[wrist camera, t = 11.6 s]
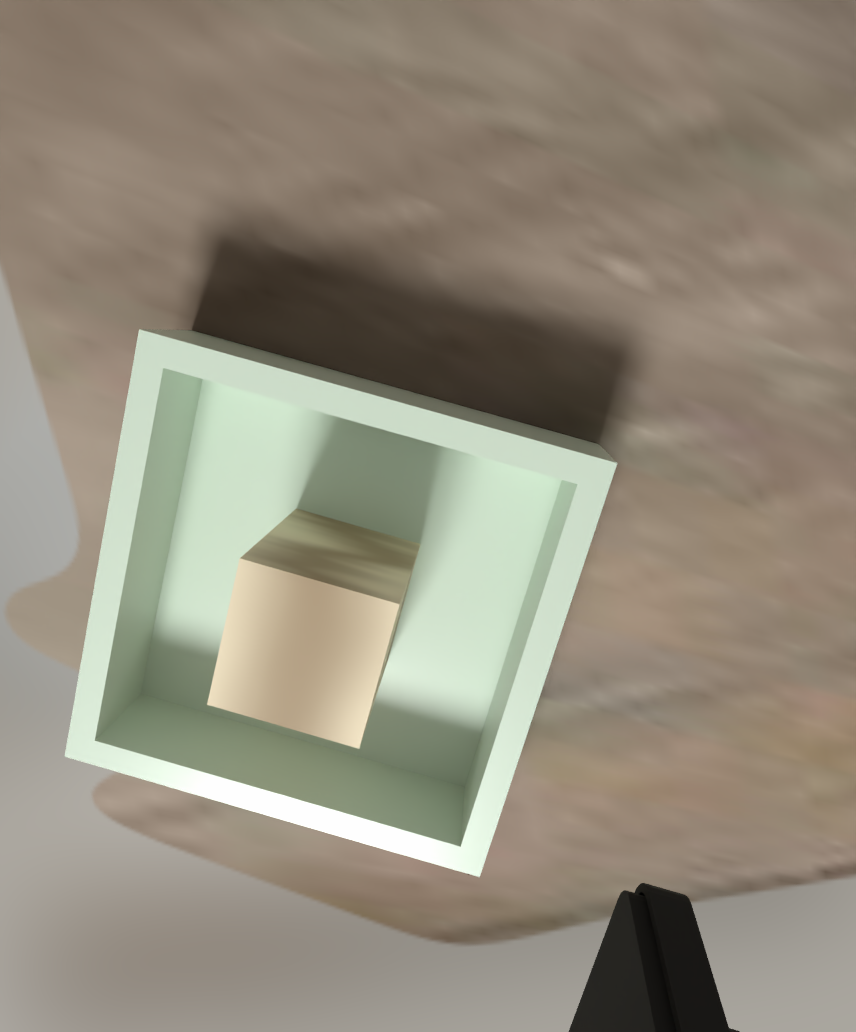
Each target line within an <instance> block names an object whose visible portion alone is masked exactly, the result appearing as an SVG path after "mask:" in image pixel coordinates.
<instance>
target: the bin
mask: <svg viewBox="0 0 856 1032" xmlns="http://www.w3.org/2000/svg"><path fill="white" fill-rule="evenodd" d="M616 466H617V462H616V461H615V460H614V459H613V458H612V457H611V456H610V455H609V454H608V453H607V452H606V451H605V450H604V449H603V448H602V447H601V446H600V445H599V444H596V443H593V442H589V441H586V440H582V439H579V438H575V437H571V436H568V435H564V434H561V433H557V432H553V431H550V430H546V429H543V428H539V427H536V426H532V425H528V424H525V423H521V422H518V421H514V420H511V419H507V418H503V417H500V416H496V415H493V414H489V413H486V412H482V411H478V410H475V409H471V408H468V407H464V406H461V405H457V404H453V403H450V402H446V401H443V400H439V399H435V398H432V397H428V396H425V395H421V394H418V393H414V392H410V391H407V390H403V389H400V388H396V387H393V386H389V385H385V384H382V383H378V382H375V381H371V380H368V379H364V378H360V377H357V376H353V375H350V374H346V373H343V372H339V371H335V370H332V369H328V368H325V367H321V366H317V365H314V364H310V363H307V362H303V361H300V360H296V359H292V358H289V357H285V356H282V355H278V354H275V353H271V352H267V351H264V350H260V349H257V348H253V347H250V346H246V345H242V344H239V343H235V342H232V341H228V340H225V339H221V338H217V337H214V336H210V335H207V334H203V333H199V332H196V331H192V330H150V329H139V334H138V339H137V345H136V351H135V357H134V362H133V368H132V374H131V380H130V385H129V391H128V397H127V402H126V408H125V414H124V420H123V425H122V431H121V437H120V443H119V448H118V454H117V460H116V465H115V471H114V477H113V483H112V488H111V494H110V500H109V506H108V511H107V517H106V523H105V529H104V534H103V540H102V546H101V551H100V557H99V563H98V569H97V574H96V580H95V586H94V592H93V597H92V603H91V609H90V614H89V620H88V626H87V632H86V637H85V643H84V649H83V655H82V660H81V666H80V672H79V677H78V683H77V689H76V695H75V701H74V706H73V712H72V718H71V723H70V729H69V735H68V741H67V747H66V752H65V757H68V758H71V759H75V760H79V761H82V762H86V763H89V764H92V765H95V766H99V767H103V768H106V769H109V770H113V771H116V772H120V773H123V774H126V775H130V776H133V777H137V778H140V779H144V780H147V781H151V782H154V783H157V784H161V785H164V786H168V787H171V788H175V789H178V790H182V791H185V792H188V793H192V794H195V795H199V796H202V797H206V798H209V799H213V800H216V801H219V802H223V803H226V804H230V805H233V806H237V807H240V808H244V809H247V810H250V811H254V812H257V813H261V814H264V815H268V816H271V817H274V818H278V819H281V820H285V821H288V822H292V823H295V824H299V825H302V826H305V827H309V828H312V829H316V830H319V831H323V832H326V833H330V834H333V835H336V836H340V837H343V838H347V839H350V840H354V841H357V842H361V843H364V844H367V845H371V846H374V847H378V848H381V849H385V850H388V851H392V852H395V853H398V854H402V855H405V856H409V857H412V858H416V859H419V860H423V861H426V862H429V863H433V864H436V865H440V866H443V867H447V868H450V869H454V870H457V871H460V872H464V873H467V874H471V875H474V876H478V877H480V874H481V871H482V868H483V865H484V862H485V859H486V856H487V853H488V850H489V847H490V844H491V841H492V838H493V835H494V832H495V829H496V826H497V823H498V820H499V817H500V814H501V811H502V808H503V805H504V802H505V799H506V796H507V793H508V790H509V787H510V784H511V781H512V778H513V775H514V772H515V769H516V766H517V763H518V760H519V757H520V754H521V751H522V748H523V745H524V742H525V739H526V736H527V733H528V730H529V727H530V724H531V721H532V718H533V715H534V712H535V709H536V706H537V703H538V700H539V697H540V694H541V691H542V688H543V685H544V682H545V679H546V676H547V673H548V670H549V667H550V664H551V661H552V658H553V655H554V652H555V649H556V646H557V643H558V640H559V637H560V634H561V631H562V628H563V625H564V622H565V619H566V616H567V613H568V610H569V607H570V604H571V601H572V598H573V595H574V592H575V589H576V586H577V583H578V580H579V577H580V574H581V571H582V568H583V565H584V562H585V559H586V556H587V553H588V550H589V547H590V544H591V541H592V538H593V535H594V532H595V529H596V526H597V523H598V520H599V517H600V514H601V511H602V508H603V505H604V502H605V499H606V496H607V493H608V490H609V487H610V484H611V481H612V478H613V475H614V472H615V469H616ZM296 508H297V509H300V510H304V511H307V512H311V513H314V514H318V515H321V516H325V517H328V518H332V519H335V520H339V521H342V522H346V523H349V524H353V525H356V526H360V527H363V528H367V529H370V530H373V531H377V532H380V533H384V534H387V535H391V536H394V537H398V538H401V539H405V540H408V541H412V542H415V543H419V544H420V548H419V551H418V555H417V559H416V562H415V566H414V569H413V573H412V576H411V580H410V584H409V587H408V591H407V594H406V598H405V601H404V605H403V608H402V612H401V616H400V619H399V623H398V626H397V630H396V633H395V637H394V640H393V644H392V648H391V651H390V655H389V658H388V662H387V665H386V668H385V671H384V674H383V677H382V680H381V683H380V686H379V689H378V692H377V695H376V699H375V702H374V705H373V708H372V711H371V714H370V717H369V720H368V723H367V726H366V729H365V732H364V735H363V739H362V742H361V745H360V748H359V749H358V748H355V747H351V746H348V745H344V744H341V743H337V742H334V741H331V740H327V739H324V738H320V737H317V736H313V735H310V734H306V733H303V732H300V731H296V730H293V729H289V728H286V727H282V726H279V725H276V724H272V723H269V722H265V721H262V720H258V719H255V718H251V717H248V716H245V715H241V714H238V713H234V712H231V711H227V710H224V709H220V708H217V707H214V706H210V705H207V702H208V698H209V693H210V689H211V684H212V680H213V675H214V671H215V666H216V662H217V657H218V653H219V648H220V644H221V640H222V635H223V631H224V626H225V622H226V617H227V613H228V608H229V604H230V599H231V595H232V590H233V586H234V581H235V577H236V572H237V568H238V563H239V559H240V558H241V557H242V556H243V555H244V554H245V553H246V552H247V551H249V550H250V549H251V548H252V547H253V546H254V545H255V544H256V543H258V542H259V541H260V540H261V539H262V538H263V537H264V536H266V535H267V534H268V533H269V532H270V531H271V530H272V529H274V528H275V527H276V526H277V525H278V524H279V523H280V522H281V521H283V520H284V519H285V518H286V517H287V516H288V515H289V514H291V513H292V512H293V511H294V510H295V509H296Z"/></svg>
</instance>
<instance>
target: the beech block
mask: <svg viewBox="0 0 856 1032" xmlns="http://www.w3.org/2000/svg"><path fill="white" fill-rule="evenodd" d="M419 548H420V544H419V543H415V542H412V541H408V540H405V539H401V538H398V537H394V536H391V535H387V534H384V533H380V532H377V531H373V530H370V529H367V528H363V527H360V526H356V525H353V524H349V523H346V522H342V521H339V520H335V519H332V518H328V517H325V516H321V515H318V514H314V513H311V512H307V511H304V510H300V509H297V508H296V509H295V510H294V511H293V512H292V513H291V514H289V515H288V516H287V517H286V518H285V519H284V520H283V521H281V522H280V523H279V524H278V525H277V526H276V527H275V528H274V529H272V530H271V531H270V532H269V533H268V534H267V535H266V536H264V537H263V538H262V539H261V540H260V541H259V542H258V543H256V544H255V545H254V546H253V547H252V548H251V549H250V550H249V551H247V552H246V553H245V554H244V555H243V556H242V557H241V558H240V559H239V563H238V568H237V572H236V577H235V581H234V586H233V590H232V595H231V599H230V604H229V608H228V613H227V617H226V622H225V626H224V631H223V635H222V640H221V644H220V648H219V653H218V657H217V662H216V666H215V671H214V675H213V680H212V684H211V689H210V693H209V698H208V702H207V705H210V706H214V707H217V708H220V709H224V710H227V711H231V712H234V713H238V714H241V715H245V716H248V717H251V718H255V719H258V720H262V721H265V722H269V723H272V724H276V725H279V726H282V727H286V728H289V729H293V730H296V731H300V732H303V733H306V734H310V735H313V736H317V737H320V738H324V739H327V740H331V741H334V742H337V743H341V744H344V745H348V746H351V747H355V748H358V749H359V748H360V745H361V742H362V739H363V735H364V732H365V729H366V726H367V723H368V720H369V717H370V714H371V711H372V708H373V705H374V702H375V699H376V695H377V692H378V689H379V686H380V683H381V680H382V677H383V674H384V671H385V668H386V665H387V662H388V658H389V655H390V651H391V648H392V644H393V640H394V637H395V633H396V630H397V626H398V623H399V619H400V616H401V612H402V608H403V605H404V601H405V598H406V594H407V591H408V587H409V584H410V580H411V576H412V573H413V569H414V566H415V562H416V559H417V555H418V551H419Z"/></svg>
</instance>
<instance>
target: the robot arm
mask: <svg viewBox="0 0 856 1032" xmlns="http://www.w3.org/2000/svg"><path fill="white" fill-rule="evenodd" d="M569 1032H739V1031H736V1030H733V1029H730V1028H729V1027H728V1024H727V1021H726V1017H725V1014H724V1011H723V1007H722V1004H721V1001H720V997H719V994H718V991H717V987H716V984H715V981H714V978H713V974H712V971H711V968H710V964H709V961H708V958H707V954H706V951H705V948H704V944H703V941H702V938H701V935H700V931H699V928H698V925H697V921H696V918H695V915H694V912H693V908H692V905H691V902H690V900H689V898H688V897H687V896H686V895H683V894H680V893H676V892H673V891H670V890H666V889H663V888H659V887H656V886H652V885H649V884H645V883H642V884H640V885H639V886H638V887H637V888H636V891H635V893H633V892H629V891H626V890H625V891H623V892H622V893H621V894H620V896H619V898H618V901H617V903H616V906H615V909H614V911H613V914H612V917H611V919H610V922H609V925H608V928H607V930H606V933H605V936H604V938H603V941H602V944H601V947H600V949H599V952H598V955H597V957H596V960H595V962H594V965H593V968H592V971H591V973H590V976H589V979H588V982H587V984H586V987H585V989H584V992H583V995H582V998H581V1000H580V1003H579V1006H578V1008H577V1011H576V1014H575V1016H574V1019H573V1022H572V1024H571V1027H570V1030H569Z"/></svg>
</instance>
